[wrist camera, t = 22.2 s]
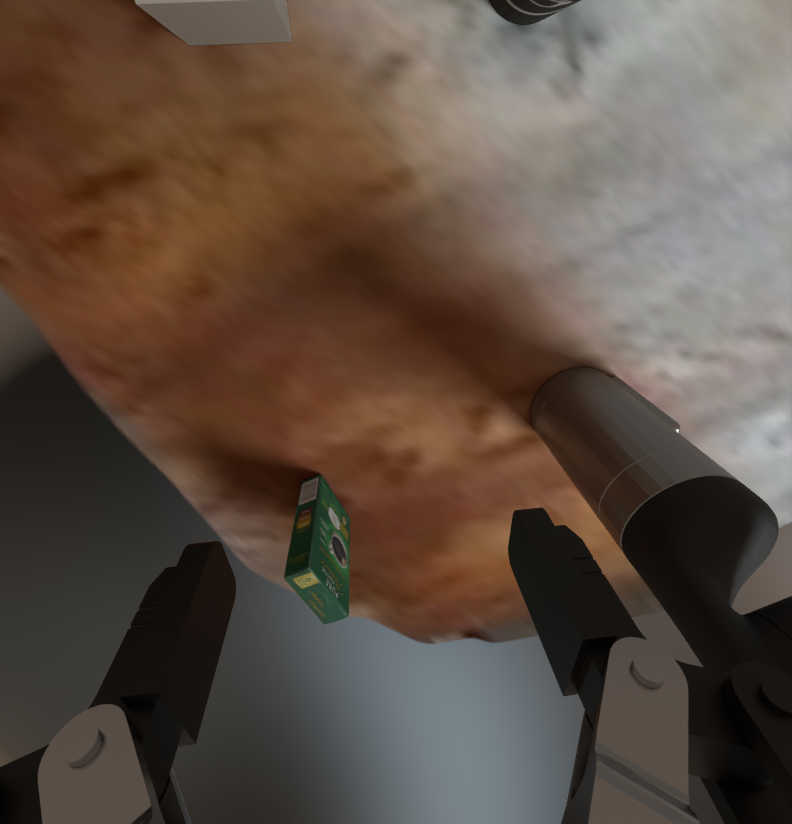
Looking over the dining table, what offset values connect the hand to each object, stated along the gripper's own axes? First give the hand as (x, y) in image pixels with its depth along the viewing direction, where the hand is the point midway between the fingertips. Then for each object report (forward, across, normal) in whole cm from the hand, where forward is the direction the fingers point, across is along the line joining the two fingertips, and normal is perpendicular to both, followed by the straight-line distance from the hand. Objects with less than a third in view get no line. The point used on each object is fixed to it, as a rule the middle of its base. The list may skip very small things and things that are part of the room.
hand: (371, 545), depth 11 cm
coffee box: (+28, +6, +24) cm, 38 cm away
